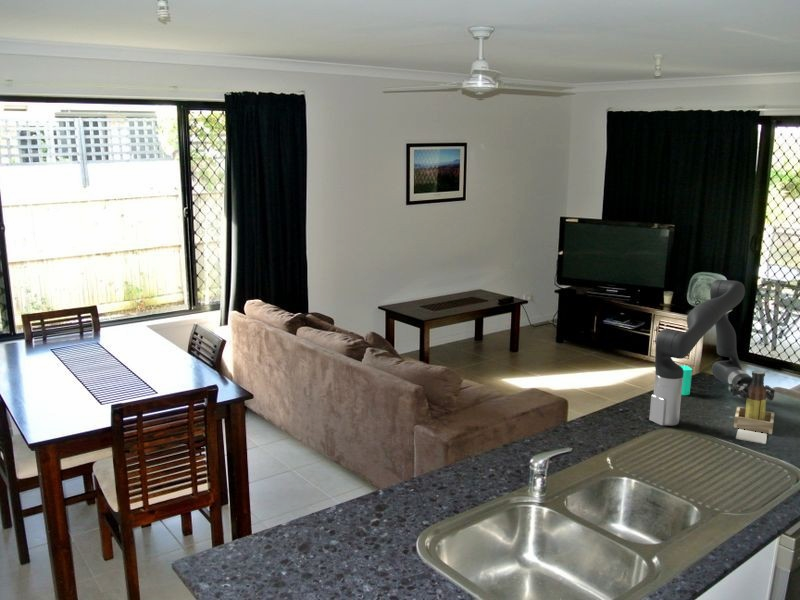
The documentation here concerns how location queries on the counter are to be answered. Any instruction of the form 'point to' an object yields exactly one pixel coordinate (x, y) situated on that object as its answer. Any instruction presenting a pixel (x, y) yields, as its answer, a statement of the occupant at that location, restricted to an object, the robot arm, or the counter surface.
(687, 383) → the turquoise rectangular block
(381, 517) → the counter surface
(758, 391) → the sauce bottle
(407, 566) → the counter surface
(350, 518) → the counter surface
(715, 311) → the robot arm
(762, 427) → the wooden tray
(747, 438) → the coaster mat
